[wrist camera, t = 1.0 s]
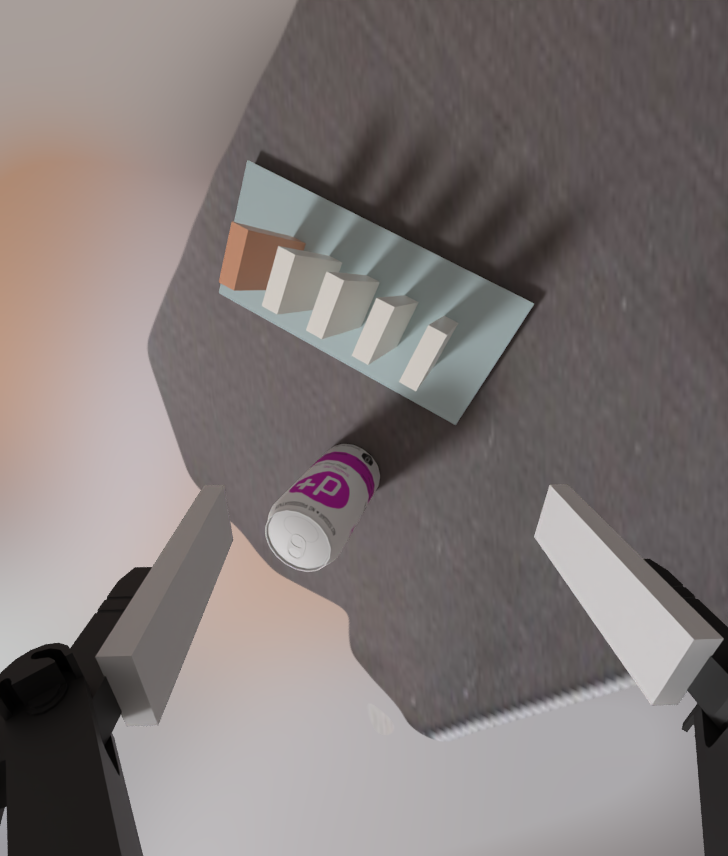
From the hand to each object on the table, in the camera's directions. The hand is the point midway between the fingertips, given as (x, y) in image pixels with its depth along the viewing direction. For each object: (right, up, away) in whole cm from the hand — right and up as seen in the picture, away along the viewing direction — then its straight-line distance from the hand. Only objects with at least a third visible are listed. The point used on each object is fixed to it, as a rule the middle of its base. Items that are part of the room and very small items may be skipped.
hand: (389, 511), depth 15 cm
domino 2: (-5, +19, +23) cm, 31 cm away
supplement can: (-3, -2, +33) cm, 33 cm away
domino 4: (+3, +15, +22) cm, 27 cm away
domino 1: (-9, +21, +24) cm, 33 cm away
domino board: (-2, +18, +24) cm, 30 cm away
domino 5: (+7, +12, +22) cm, 26 cm away
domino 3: (-1, +17, +23) cm, 28 cm away
